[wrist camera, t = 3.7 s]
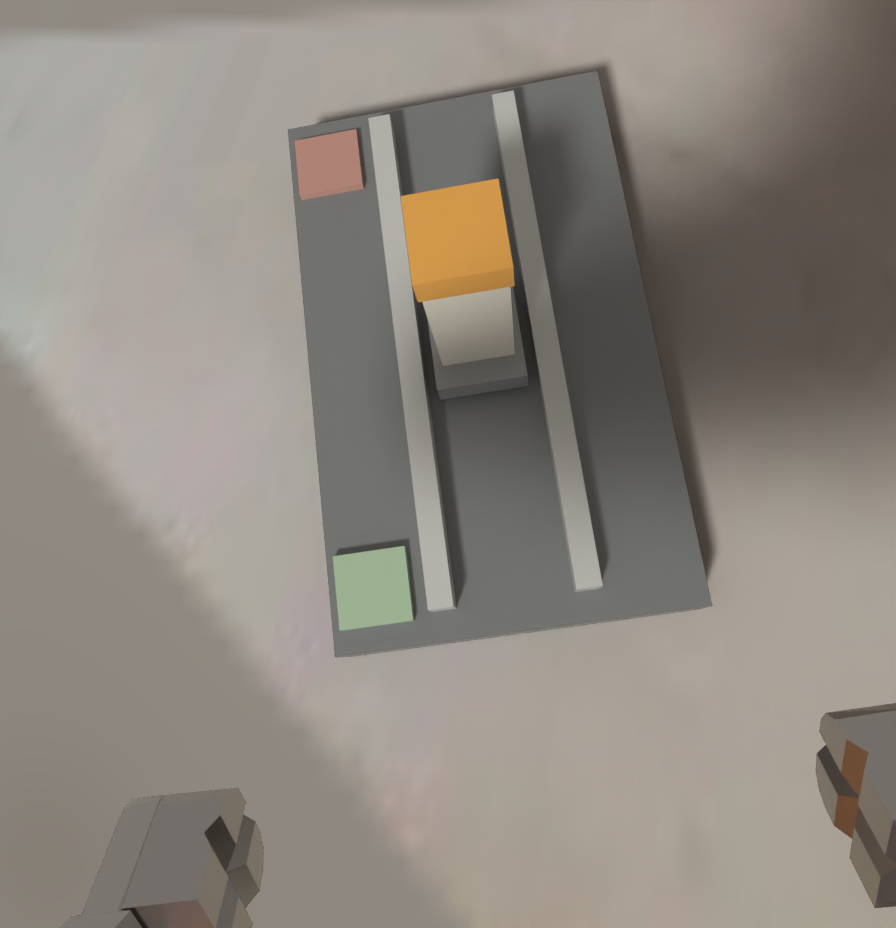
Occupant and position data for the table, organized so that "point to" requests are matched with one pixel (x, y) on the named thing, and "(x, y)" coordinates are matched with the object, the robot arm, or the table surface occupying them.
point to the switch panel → (493, 413)
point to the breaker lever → (466, 287)
